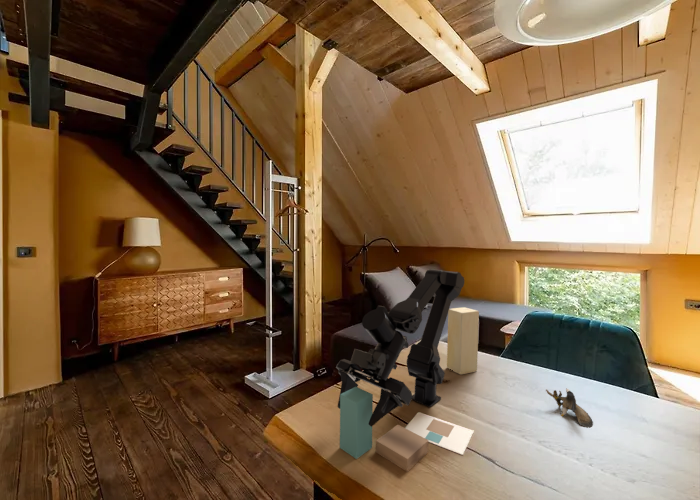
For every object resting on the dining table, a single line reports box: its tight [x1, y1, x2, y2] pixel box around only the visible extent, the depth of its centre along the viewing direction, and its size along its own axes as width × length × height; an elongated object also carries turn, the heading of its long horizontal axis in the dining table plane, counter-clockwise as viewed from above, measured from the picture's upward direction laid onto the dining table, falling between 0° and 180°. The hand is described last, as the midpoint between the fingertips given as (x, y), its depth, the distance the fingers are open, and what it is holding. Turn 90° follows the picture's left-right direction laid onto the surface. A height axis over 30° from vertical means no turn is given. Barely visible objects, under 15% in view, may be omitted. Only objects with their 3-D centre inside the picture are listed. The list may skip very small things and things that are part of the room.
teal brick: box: [339, 386, 374, 460], centre depth 70 cm, size 5×5×12 cm
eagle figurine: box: [545, 388, 594, 429], centre depth 83 cm, size 8×8×10 cm
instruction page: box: [404, 411, 475, 456], centre depth 76 cm, size 10×14×1 cm
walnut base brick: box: [375, 424, 429, 472], centre depth 69 cm, size 8×8×3 cm
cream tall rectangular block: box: [446, 306, 480, 376], centre depth 111 cm, size 8×7×21 cm
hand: (353, 416), depth 69 cm, fingers open, 9 cm apart
